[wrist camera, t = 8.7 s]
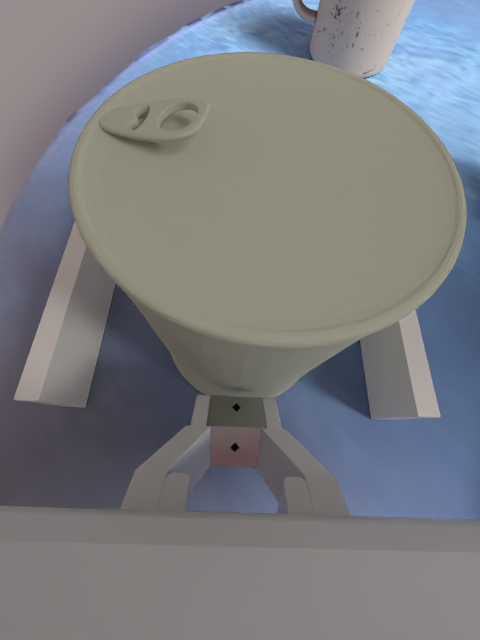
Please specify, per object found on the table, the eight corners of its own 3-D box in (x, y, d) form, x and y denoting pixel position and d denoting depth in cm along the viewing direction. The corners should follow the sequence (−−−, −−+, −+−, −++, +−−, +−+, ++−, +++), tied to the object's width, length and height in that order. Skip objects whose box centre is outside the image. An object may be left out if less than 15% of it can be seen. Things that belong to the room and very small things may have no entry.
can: (194, 253, 19) (152, 0, 8) (322, 284, 18) (472, 66, 7) (145, 381, 15) (-64, 257, 4) (301, 423, 15) (528, 410, 4)
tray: (388, 419, 15) (440, 417, 12) (67, 406, 15) (13, 399, 11) (351, 197, 22) (377, 149, 18) (127, 180, 21) (106, 128, 17)
